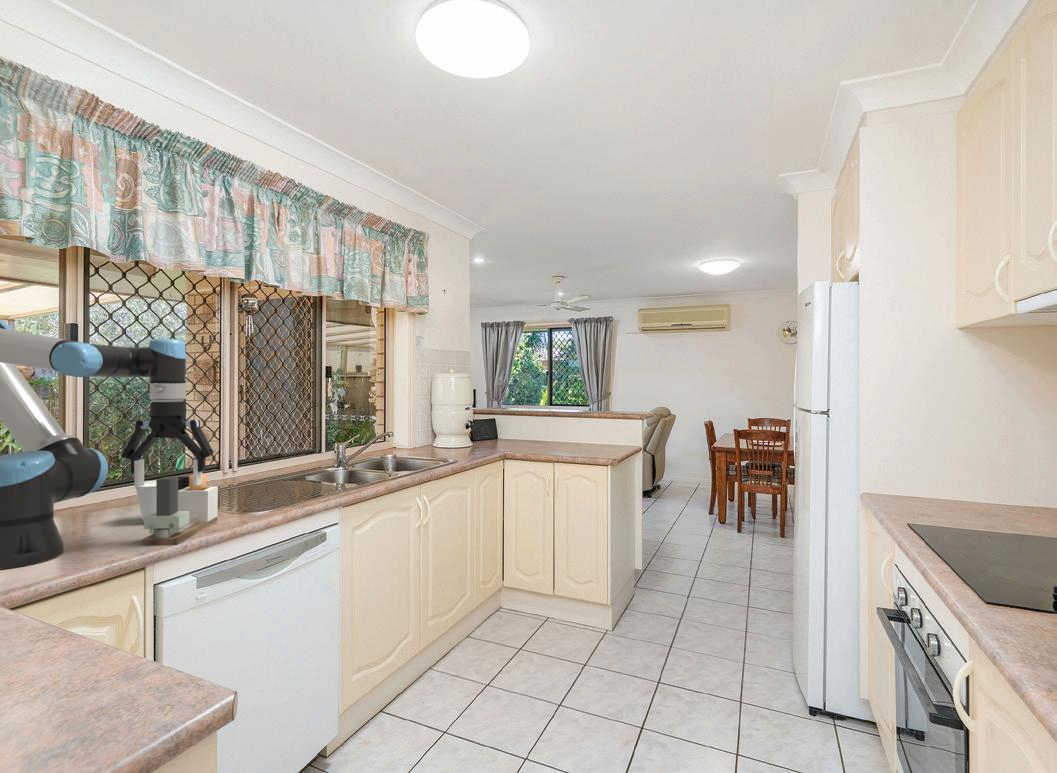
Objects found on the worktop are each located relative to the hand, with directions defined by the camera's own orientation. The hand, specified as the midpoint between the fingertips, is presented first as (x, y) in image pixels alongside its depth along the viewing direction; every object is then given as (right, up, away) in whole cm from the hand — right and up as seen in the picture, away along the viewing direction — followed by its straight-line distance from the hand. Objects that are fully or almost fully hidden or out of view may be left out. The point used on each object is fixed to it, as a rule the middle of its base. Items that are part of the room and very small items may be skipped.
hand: (168, 485), depth 134 cm
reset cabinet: (-2, -12, +15) cm, 20 cm away
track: (-1, -14, +7) cm, 16 cm away
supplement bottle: (-11, -14, +24) cm, 30 cm away
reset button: (-2, -5, +15) cm, 16 cm away
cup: (-16, -14, +18) cm, 28 cm away
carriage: (0, -11, 0) cm, 11 cm away
